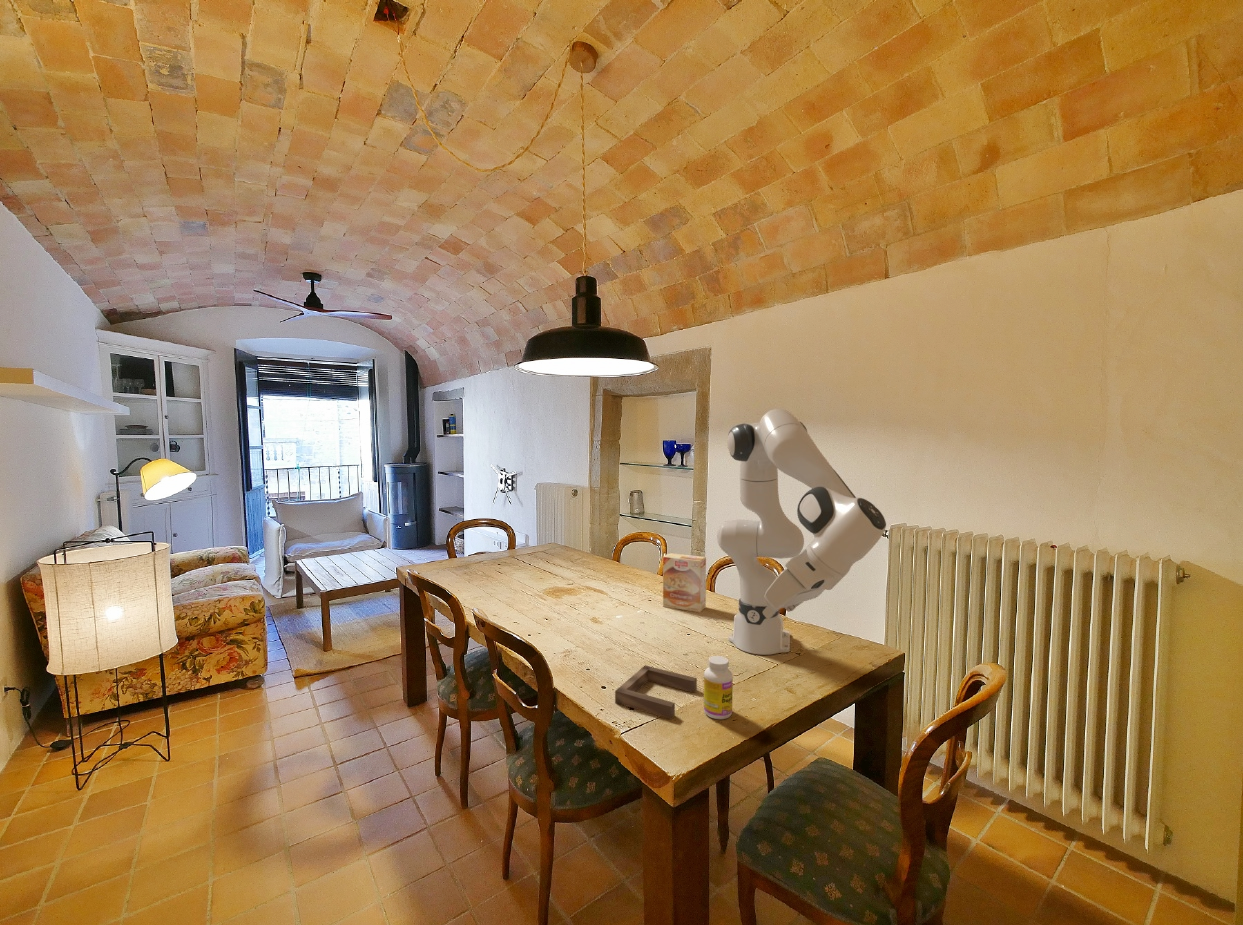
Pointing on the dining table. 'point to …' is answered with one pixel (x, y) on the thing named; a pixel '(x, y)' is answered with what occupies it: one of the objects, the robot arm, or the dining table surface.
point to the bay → (650, 704)
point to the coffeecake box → (684, 582)
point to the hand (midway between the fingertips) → (777, 612)
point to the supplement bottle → (718, 688)
